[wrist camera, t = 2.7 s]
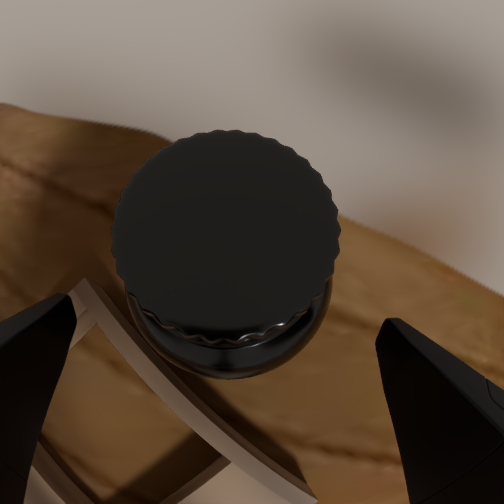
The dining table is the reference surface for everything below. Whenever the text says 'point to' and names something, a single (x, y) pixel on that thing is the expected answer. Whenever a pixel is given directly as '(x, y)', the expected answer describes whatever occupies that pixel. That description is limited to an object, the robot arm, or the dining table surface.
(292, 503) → the tan flat square frame
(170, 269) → the supplement bottle
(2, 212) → the dining table surface
